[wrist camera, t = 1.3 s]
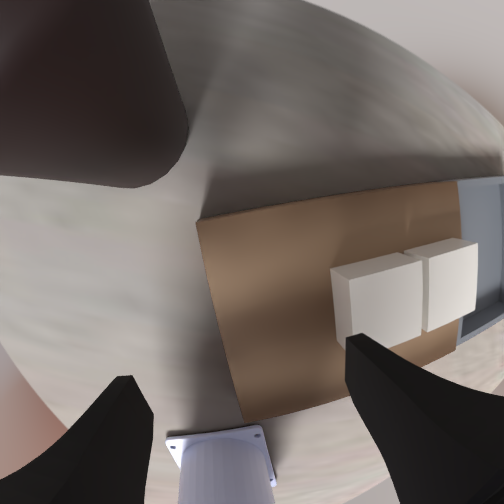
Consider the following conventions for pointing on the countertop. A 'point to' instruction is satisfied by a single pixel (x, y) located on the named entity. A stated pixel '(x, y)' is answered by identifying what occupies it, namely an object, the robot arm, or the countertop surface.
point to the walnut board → (311, 286)
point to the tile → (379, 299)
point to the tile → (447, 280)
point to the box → (483, 249)
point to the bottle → (87, 93)
